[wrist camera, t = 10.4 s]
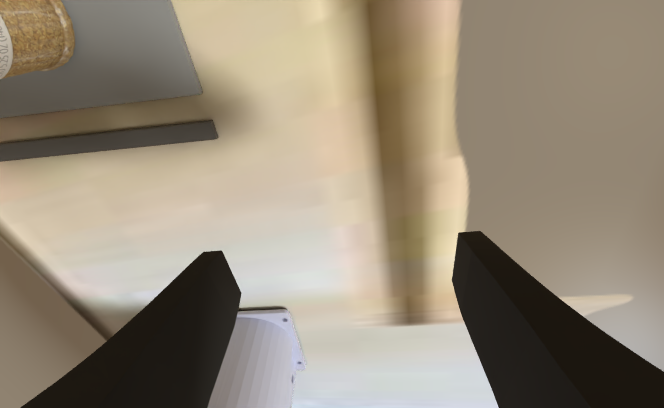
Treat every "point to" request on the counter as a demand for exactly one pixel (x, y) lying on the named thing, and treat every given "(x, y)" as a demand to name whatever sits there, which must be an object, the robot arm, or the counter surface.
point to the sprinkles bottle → (34, 36)
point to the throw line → (109, 140)
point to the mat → (109, 61)
